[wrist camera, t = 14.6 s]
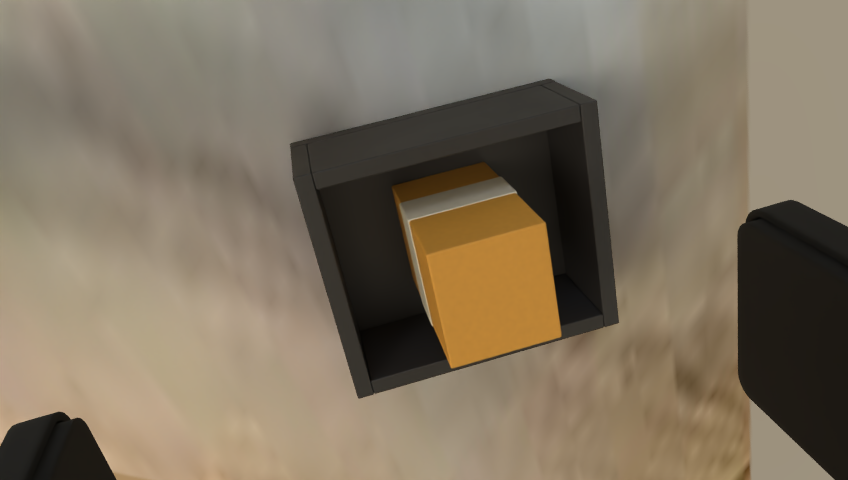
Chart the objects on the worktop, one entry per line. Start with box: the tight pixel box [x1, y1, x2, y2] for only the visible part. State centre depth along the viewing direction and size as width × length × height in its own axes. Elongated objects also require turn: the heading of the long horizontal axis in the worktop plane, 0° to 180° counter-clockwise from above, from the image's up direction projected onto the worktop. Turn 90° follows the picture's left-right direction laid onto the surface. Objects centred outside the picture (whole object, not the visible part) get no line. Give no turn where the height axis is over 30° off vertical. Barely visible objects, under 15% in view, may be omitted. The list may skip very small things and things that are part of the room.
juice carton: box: [392, 162, 562, 368], centre depth 33 cm, size 6×5×9 cm
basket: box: [290, 79, 619, 398], centre depth 35 cm, size 14×12×6 cm
